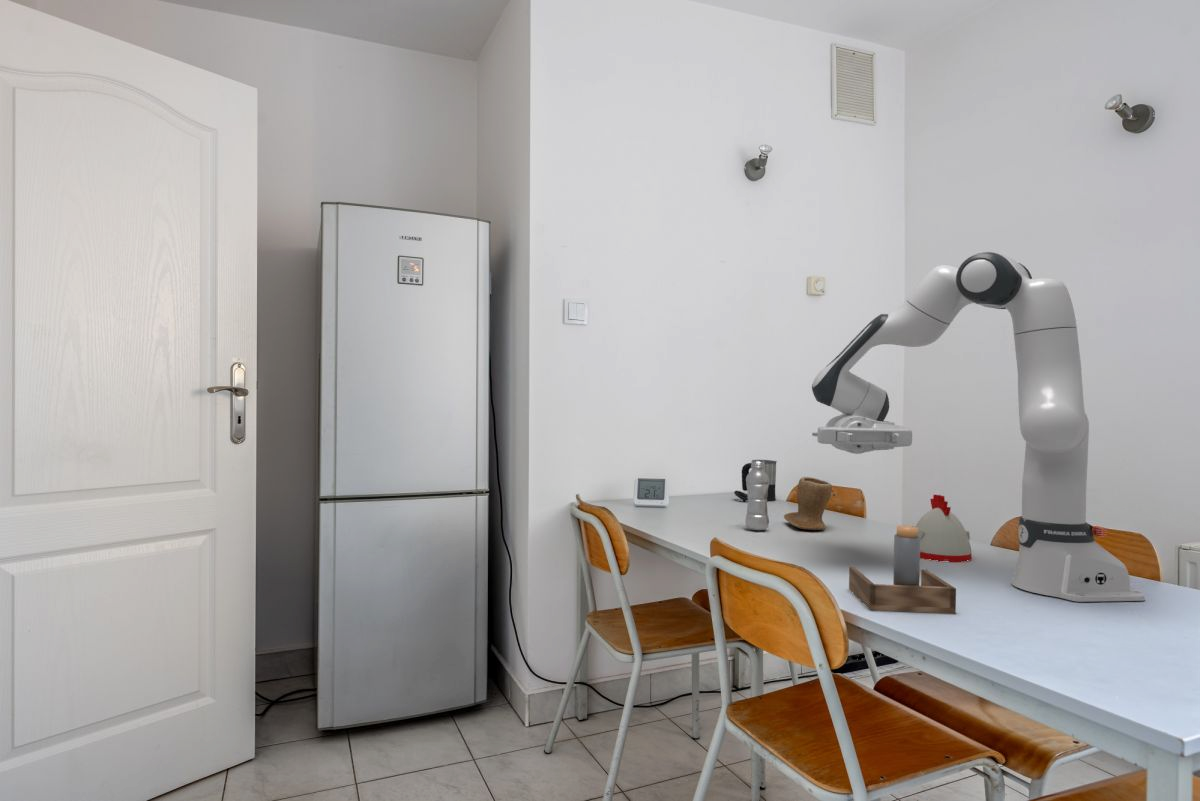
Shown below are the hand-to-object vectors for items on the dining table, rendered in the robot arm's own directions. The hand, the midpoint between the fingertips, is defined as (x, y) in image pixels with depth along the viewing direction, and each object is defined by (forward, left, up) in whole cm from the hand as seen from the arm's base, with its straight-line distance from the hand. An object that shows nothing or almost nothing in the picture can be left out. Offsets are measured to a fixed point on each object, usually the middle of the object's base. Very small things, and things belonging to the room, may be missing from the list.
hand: (873, 438), depth 151 cm
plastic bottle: (+17, -50, -30) cm, 61 cm away
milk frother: (+10, -111, -30) cm, 116 cm away
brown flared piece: (+1, -57, -30) cm, 64 cm away
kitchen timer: (-24, -24, -30) cm, 45 cm away
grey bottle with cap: (0, +22, -29) cm, 36 cm away
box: (0, +18, -30) cm, 35 cm away
